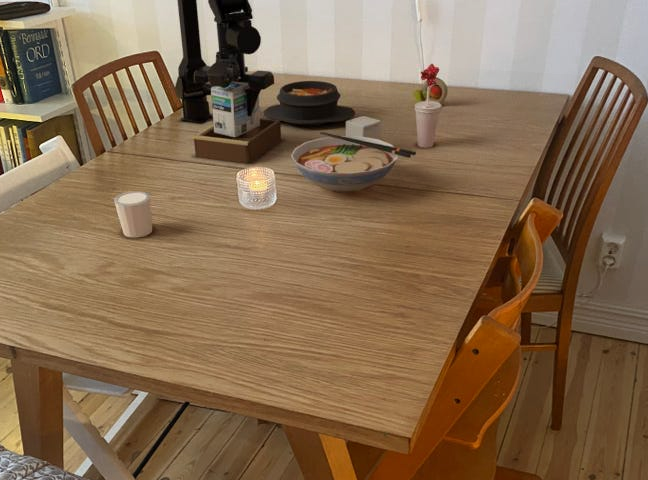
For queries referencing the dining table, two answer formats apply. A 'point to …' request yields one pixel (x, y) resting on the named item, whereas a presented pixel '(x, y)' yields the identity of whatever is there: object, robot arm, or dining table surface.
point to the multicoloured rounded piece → (436, 91)
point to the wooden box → (238, 143)
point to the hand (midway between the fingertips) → (236, 114)
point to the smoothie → (427, 121)
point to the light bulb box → (233, 110)
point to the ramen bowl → (346, 161)
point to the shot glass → (134, 213)
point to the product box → (364, 127)
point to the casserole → (309, 104)
